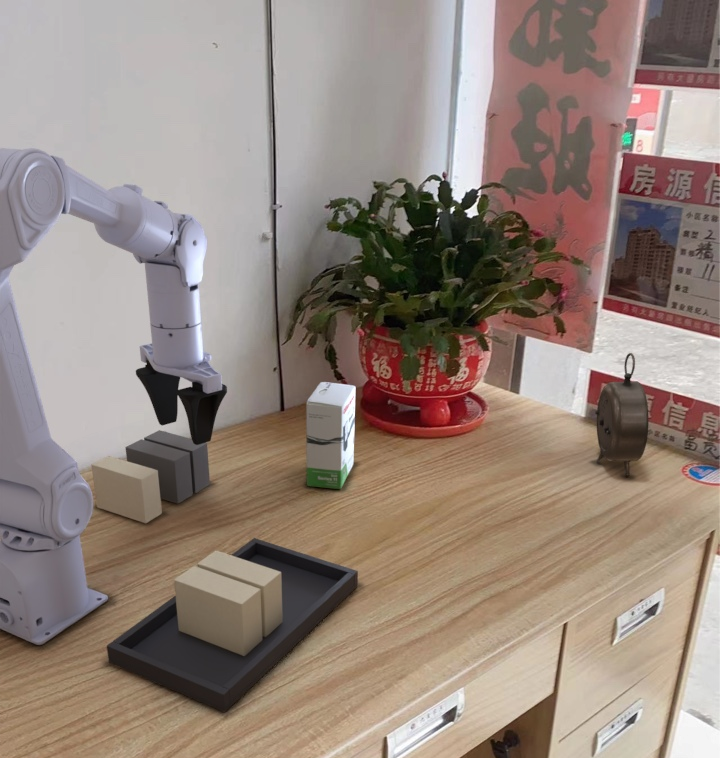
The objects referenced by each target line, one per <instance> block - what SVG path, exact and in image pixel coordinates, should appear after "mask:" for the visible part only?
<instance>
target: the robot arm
mask: <svg viewBox="0 0 720 758" xmlns="http://www.w3.org/2000/svg"><path fill="white" fill-rule="evenodd" d="M61 215H71V216H73V217H76V218H79V219H81V220H83V221H85V222H86V221H87V222H89V223H92V224H93V225H94V228H95V232H96V233H97V235H98V237H100V239H102V241H104V242H105V243H107V244H110V245H112V246H115V247H117V248H119V249H121V250H124V251H126V252H128V253H131V254H132V255H133V257H134V259H135V260H136V262H137V263H138V264H144V272H145V280H146V281H145V282H146V290H147V291H146V292H147V293H146V294H147V302H148V303H147V304H148V313H149V324H150V325H149V326H150V336H151V343H146V344H141V345H139V353H140V354H139V356H140V361H141V362H142V363H145V365H144V366H143V367H139V368H137V369H136V370H135V375H136V377H137V378H138V380H139V381H140V382H141V384H142V385H143V387H144V389H145V391H146V393H147V396H148V397H149V399H150V402H151V405H152V408H153V410H154V413H155V417H156V419H157V421H158V424H159V425H160V426H166V425H169V424H172V423H173V424H174V423H176V422H177V419H178V413H179V412H178V411H179V410H178V405H179V404H178V403H179V402H178V400H180V402H181V404H182V406H183V408H184V411H185V414H186V417H187V420H188V421H187V422H188V426H189V427H188V428H189V433H190V439H192V441H193V443H194V444H195V445H199V444H202V443H209V442H211V440H212V436H213V432H214V427H215V423H216V422H215V421H216V418H217V414H218V411H219V408H220V406H221V404H222V401H223V400H224V398H225V396H226V395H227V393H228V386H227V385H225V384H224V383H222V382H223V380H222V373H220V372H219V371H217V370H216V369H215V368H214V367H213V366H212V364H211V362H210V361H212V354H211V353H210V352H207V351H205V350H204V343H203V342H204V341H203V328H202V312H201V298H200V297H201V296H200V283H201V282H203V281H202V280H203V276H204V261H205V257H206V254H207V250H208V249H207V248H208V236H206V234H205V230H204V227H203V225H202V223H201V222H199V221H198V220H197V219H196V218H195V216H194V215H192V214H187V213H180V212H179V213H178V212H173V211H172V210H170V209H169V206H168V203H166V202H164V201H162V200H153V199H150V198H148V197H146V196H145V195H143V188H142V187H141V186H138V185H136V184H131V183H124V184H123V185H121V186H119V185H117V186H114V187H110V188H108V189H107V188H105V187H103V186H101V185H100V184H98V183H96V182H95V181H94V180H92V179H90V178H88V177H87V176H86V175H84V174H82V173H80V172H79V171H77V170H75V169H74V168H72V167H71V166H69V165H68V164H66V162H65V159H64V158H63V157H59V156H55V155H50V154H49V153H47V152H46V151H44V150H43V149H40V148H32V147H30V148H23V149H17V148H7V147H0V630H2V631H5V632H6V633H8V634H11V635H13V636H15V637H18V638H20V639H23V640H24V641H27V642H30V643H32V644H34V645H36V646H41V645H44V644H46V642H49V641H50V640H51V639H53V638H54V637H56V636H57V635H58V634H61V632H63V631H65V630H66V629H68V628H69V627H70V626H72V625H74V624H75V623H76V622H78V621H80V620H81V619H82V618H84V617H86V616H87V615H88V614H90V613H91V612H93V611H94V610H96V609H97V608H99V607H100V606H102V605H103V604H104V603H106V602H107V601H108V600H109V597H108V595H107V594H105V593H102V592H100V591H97V590H94V589H93V588H89V587H88V582H87V574H86V568H85V562H84V554H83V549H82V542H81V534H82V533H83V532H84V531H85V530H86V528H87V527H88V525H89V523H90V521H91V518H92V515H93V511H94V495H93V492H92V488H91V486H90V485H89V483H88V482H87V481H86V480H85V479H84V477H83V476H82V475H81V472H80V469H79V466H78V465H79V464H78V462H77V460H76V459H75V458H74V457H73V456H71V454H70V453H68V452H67V451H66V450H65V449H64V448H63V447H62V446H60V445H59V444H58V443H57V442H56V441H55V440H54V439H53V438H52V436H51V432H50V428H49V423H48V421H47V416H46V413H45V410H44V406H43V402H42V399H41V394H40V391H39V387H38V383H37V379H36V377H35V372H34V369H33V368H34V367H33V365H32V361H31V358H30V353H29V349H28V346H27V342H26V338H25V334H24V332H23V331H24V330H23V327H22V323H21V320H20V316H19V312H18V307H17V305H16V302H15V301H16V300H15V298H14V293H13V290H12V286H11V282H10V275H11V272H12V271H13V268H14V267H15V266H16V265H18V264H21V263H23V262H25V260H26V259H27V258H28V256H29V255H30V254H31V253H32V252H33V251H34V250H35V248H36V247H37V246H38V245H39V244H40V242H42V240H43V239H44V238H45V237H46V236H47V234H48V233H49V232H50V231H51V230H52V228H53V227H55V224H57V222H58V220H59V219H60V217H61ZM181 378H182V379H184V380H186V381H188V382H190V383H191V386H187V387H184V388H180V389H179V387H180V386H179V385H180V381H181ZM178 398H179V399H178Z"/></svg>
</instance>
